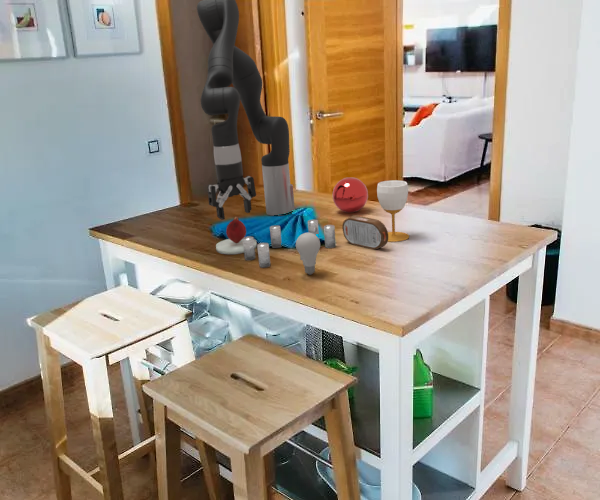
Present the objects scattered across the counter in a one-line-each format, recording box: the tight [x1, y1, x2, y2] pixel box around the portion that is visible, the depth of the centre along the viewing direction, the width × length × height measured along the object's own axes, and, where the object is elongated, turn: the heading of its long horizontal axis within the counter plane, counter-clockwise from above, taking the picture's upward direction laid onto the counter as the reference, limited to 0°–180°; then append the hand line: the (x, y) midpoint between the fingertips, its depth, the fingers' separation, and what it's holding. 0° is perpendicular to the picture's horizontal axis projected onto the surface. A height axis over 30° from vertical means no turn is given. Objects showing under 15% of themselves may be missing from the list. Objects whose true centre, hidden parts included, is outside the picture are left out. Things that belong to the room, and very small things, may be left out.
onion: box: [225, 216, 247, 243], centre depth 176 cm, size 6×6×8 cm
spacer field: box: [243, 219, 337, 268], centre depth 169 cm, size 25×18×6 cm
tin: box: [342, 214, 389, 250], centre depth 169 cm, size 15×3×8 cm, turn 44°
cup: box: [376, 179, 410, 243], centre depth 174 cm, size 9×9×16 cm
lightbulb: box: [295, 232, 321, 276], centre depth 151 cm, size 6×6×11 cm
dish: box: [215, 238, 258, 255], centre depth 177 cm, size 12×12×1 cm
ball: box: [332, 177, 369, 214], centre depth 203 cm, size 12×12×12 cm
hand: (234, 215), depth 175 cm, fingers open, 8 cm apart
